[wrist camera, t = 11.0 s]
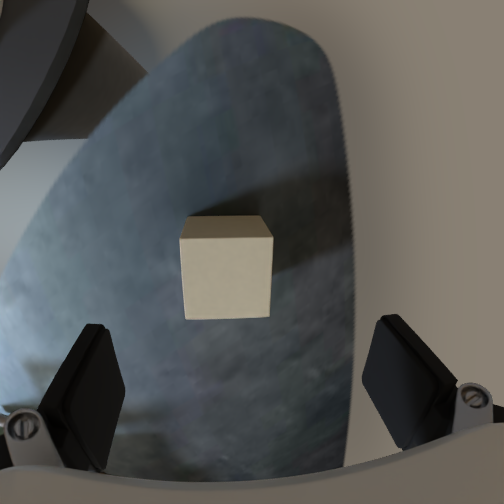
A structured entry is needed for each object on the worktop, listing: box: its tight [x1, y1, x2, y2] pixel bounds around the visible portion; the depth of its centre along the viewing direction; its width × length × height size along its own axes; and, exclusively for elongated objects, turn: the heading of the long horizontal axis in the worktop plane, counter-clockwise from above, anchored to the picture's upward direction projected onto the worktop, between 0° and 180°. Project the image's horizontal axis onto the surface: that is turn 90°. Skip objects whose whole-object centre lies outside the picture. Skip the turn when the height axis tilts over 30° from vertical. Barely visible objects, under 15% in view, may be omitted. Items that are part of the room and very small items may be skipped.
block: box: [180, 216, 274, 319], centre depth 17 cm, size 4×4×4 cm
